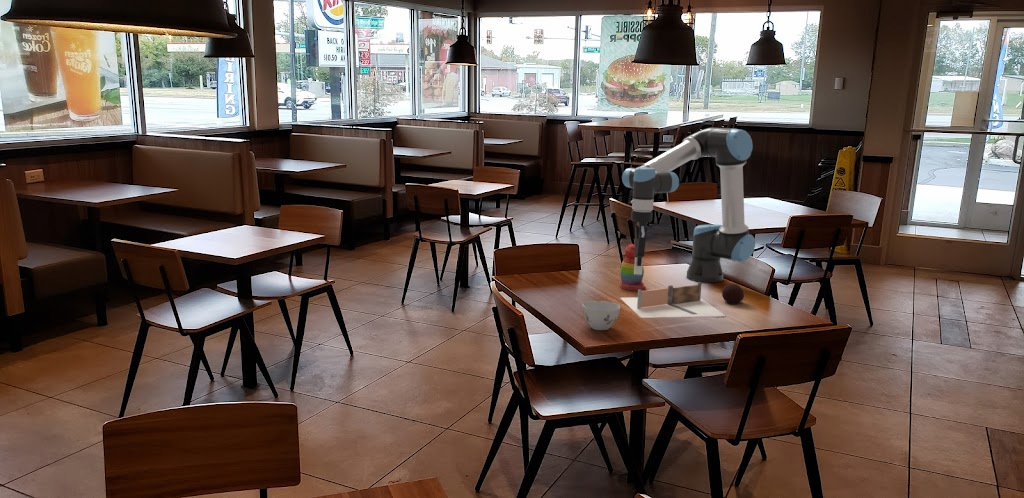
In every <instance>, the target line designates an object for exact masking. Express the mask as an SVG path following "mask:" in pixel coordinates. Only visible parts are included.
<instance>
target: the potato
mask: <svg viewBox="0 0 1024 498" xmlns="http://www.w3.org/2000/svg"><path fill="white" fill-rule="evenodd" d="M721 296H722V299H723V300H724V301H725V302H727V303H728V304H731V305H738V304H740V303H741V302H743V300H744V298H745V293H744V290H743V288H742V287H741V286H740V285H739V284H737V283H728V284H727V285H725V286H724V287H722V291H721Z"/></svg>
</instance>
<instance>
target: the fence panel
mask: <svg viewBox="0 0 1024 498" xmlns="http://www.w3.org/2000/svg"><path fill="white" fill-rule="evenodd" d="M667 296H668V287H662V288H655V289H648V290H647V289H646V290H643V291H642V290H638V291H637V297H638V301H637V308H643V307H650V306H657V305H664V304H667Z"/></svg>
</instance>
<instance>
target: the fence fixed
mask: <svg viewBox="0 0 1024 498" xmlns="http://www.w3.org/2000/svg"><path fill="white" fill-rule="evenodd" d="M702 283H703V282H700V281H697V284H691V285H684V286H678V287H677V286H673V285H672V284H669V285H668V286H667V288H668V296H667V304H669V305H671V304H672V303H673V304H675V303H682V302H689V301H696V300H700V298H701V295H702Z"/></svg>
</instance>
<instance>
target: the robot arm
mask: <svg viewBox="0 0 1024 498" xmlns="http://www.w3.org/2000/svg"><path fill="white" fill-rule="evenodd" d="M753 149H754V148H753V140H752V138H751V135H750V134H749V133H748V132H747V131H746V130H744V129H738V128H731V127H729V128H728V127H707V128H704V129H701V130H699V131H696V132H695V133H692V134H690V135H688V136H686V137H685V138H684V139H682V142H681V143H679V144H678V145H677V144H676V146H673V147H672V148H671V149H669V150H667V151H665V152H664V153H661V154H659V155H658V156H656V157H655V158H652V159H651V160H649V161H647V162H645V163H644V164H642V165H641V166H640V165H639V166H637V167H636V168H635V167H629V168H626V169H625V170H624V171H623V172H622V175H621V179H622V180H621V181H622V183H623V185H624V186H625V187H626V188H629V189H630V188H631V189H632V200H630V204H632V205H631V209H632V211H631V212H630V213H631V214H630V215H631V216H630V217H631V218H630V221H632V222H634V223H636V225H634V244H635V251H634V252H635V255H634V257H635V266H634V274H639V275H642V266H643V267H644V257H645V252H646V241H647V234H648V233H647V232H648V227H647V225H646V224H647V223H651V222H652V221H653V210H654V200H655V199H654V198H655V197H654V196H655V194H665V193H666V194H668V193H673V192H675V191H677V189H678V188H679V186H680V179H679V177H678V175H677V174H676V173H675V172H673V171H674V170H675V169H677V168H679V167H680V166H681V167H682V165H684V164H686V163H688V162H689V161H691V160H693V161H695V160H698V159H700V158H704V157H709V158H715V165H716V166H718V167H719V171H720V172H719V173H720V196H721V197H720V198H721V217H722V218H721V220H722V221H721V222H722V223H721V224H699V225H697V226H695V227H694V229H693V234H692V236H693V237H692V249H691V251H692V255H691V261H690V263H689V266H688V267H687V271H686V278H687V279H689V280H691V281H695V282H701V283H719V282H722V281H723V280H724V272H723V269H722V265H721V259H724V260H728V261H729V260H730V261H732V262H740V263H743V262H746V261H748V260H749V259H750V258H751V256H752V255H753V253H754V251H755V249H756V238H755V237H754V236H753V235H752V234H750V232H749V229H750V227H749V226H748V225H746V224H745V199H744V195H745V194H744V171H743V170H744V168H743V167H744V166H745V165H746V164H747V160H748V159H749V158H750V157H751V155H752V151H753Z"/></svg>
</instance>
